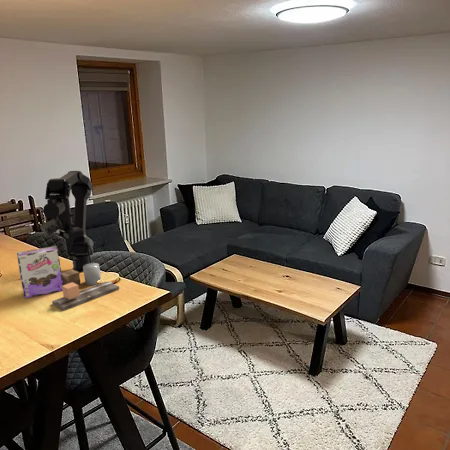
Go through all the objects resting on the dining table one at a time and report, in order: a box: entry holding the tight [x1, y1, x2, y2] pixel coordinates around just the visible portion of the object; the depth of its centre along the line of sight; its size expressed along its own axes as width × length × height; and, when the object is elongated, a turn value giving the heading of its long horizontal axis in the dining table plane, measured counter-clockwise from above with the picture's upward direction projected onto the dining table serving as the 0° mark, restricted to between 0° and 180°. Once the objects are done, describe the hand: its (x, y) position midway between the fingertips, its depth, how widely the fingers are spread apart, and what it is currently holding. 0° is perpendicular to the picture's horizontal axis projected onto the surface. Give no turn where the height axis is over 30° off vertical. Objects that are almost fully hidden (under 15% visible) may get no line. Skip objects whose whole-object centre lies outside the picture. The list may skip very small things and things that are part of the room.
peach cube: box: [62, 282, 80, 299], centre depth 147 cm, size 4×4×4 cm
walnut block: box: [61, 268, 81, 286], centre depth 163 cm, size 5×5×5 cm
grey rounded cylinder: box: [82, 262, 102, 287], centre depth 164 cm, size 6×6×7 cm
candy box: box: [16, 245, 63, 299], centre depth 155 cm, size 14×6×16 cm, turn 117°
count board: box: [51, 281, 120, 311], centre depth 152 cm, size 22×8×2 cm, turn 138°
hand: (68, 250), depth 163 cm, fingers closed
